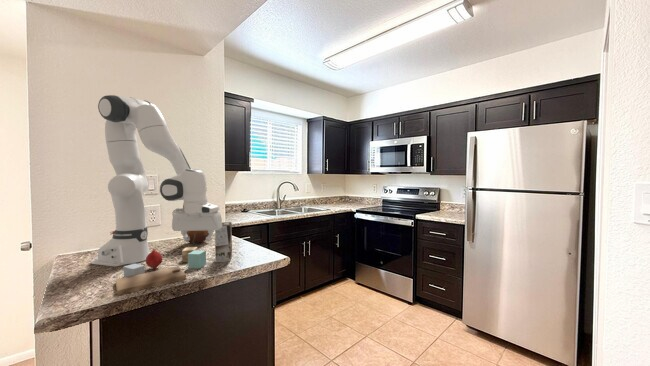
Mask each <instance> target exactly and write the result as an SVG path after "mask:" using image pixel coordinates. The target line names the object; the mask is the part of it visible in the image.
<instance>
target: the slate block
mask: <svg viewBox="0 0 650 366" xmlns="http://www.w3.org/2000/svg"><path fill="white" fill-rule="evenodd" d="M145 266H146V265H143V264H141V263H131V264H127V265H123V278H124V277H129V276H134V275H139V274H143V273H146V271H145Z"/></svg>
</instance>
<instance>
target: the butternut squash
mask: <svg viewBox="0 0 650 366" xmlns="http://www.w3.org/2000/svg"><path fill="white" fill-rule="evenodd" d="M182 208H184V202H183V204H182ZM186 233H187V235H188V236H190V241H186V242H188V243H189V244H193V245H200V244H202V243H204V242H205V241H206V237H207V236H208V235H209V233H208V231H187V232H186Z"/></svg>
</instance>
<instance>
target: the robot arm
mask: <svg viewBox="0 0 650 366" xmlns="http://www.w3.org/2000/svg"><path fill="white" fill-rule="evenodd" d="M97 108H98V112H99V114H100V116H101V117H102V118H103V119H104V120H105V123H104V135H105V143H106V144H105V145H106V148H107V149H106V150H107V153H108V159H109V162H110V164H111V165H112V168H113V170H114V173H115V174H116V175H115V176H112V178H111V179H110V180H109V181H108V183H107V191H108V192H109V194H110V196H111V201H112V204H113V208H114V215H115V230H113V231H110V232H109V233H110V235H112V238H111V239H110V240H108V241H107V242H106V243H105V244H103V245H102V246H100V247H99V248H98V251H97V257H95V258H94V259H91V260H90V264H92V265H98V266H107V267H113V268H114V267H115V268H116V267H120V266H126V265H131V264H134V263H135V264H138V263H140V262H144V261H146V257H147V256H148V254H149V253H151V251H150V248H149V243H148V233H149V232H148V227H147V210H146V207H145V205H144V199H143V195H144V194H145V193H146V192H147V190H148V189H149V181H148V179H147V174H146V172H145V169H144V166H143V163H142V160H141V155H140V149H139V143H138V138H137V133H138V136H139V139H140V141H141V143H142V144H143V146H144V147H145V148H146V149H147V150H148V151H151V152H152V153H155V154H157V155H159V156H161V157H163V158H165V159H166V160H168V161H169V162H170V163H171V166H172V167H173V170H174V171H175V173H176V175H175V176H172V177H169V178H166V179H164V180H163V181H162V182H161V184H160V185H159V193H160V195H161V197H162V198H163V199H165V200H166V201H169V202H174V201H175V202H176V201H182V200H183V203H184V208H183V207H182V208H175V209H173V211H172V214H171V215H172V221H171V228H172V230H173V231H174V232H180V234H181V235H182V238H183V239H184V242H187V241H190V236H188V235H187V233H186V232H187V231H208V233H209V235H208V236H207V237H206V240H205V241H206V242H211V241H212V236H213V234H214V233H215V230H219V229H221V227H222V223H223V219H222V218H223V217H222V214H221V213H220V212H219V211H220V206H219V205H216V204H213V203H210V202H208V198H207V189H208V187H207V181H206V175H205V173H204V172H203V171H202V170H200V169H193V168H191V167H190V164H189V162H188V161H187V158H186V156H185V154H184V152H183V151H182V149H181V147H180V146H179V145H178V144H177V142H176V141H175V139H174V137H173V135H172V134H171V131H170V129H169V127H168V123H167V122H166V119H165V117H164V116H163V114H162V112H161V110H160V109H159V108H158V107H157V106H156V104H154V103H152V102H150V101H148V100H142V99H139V98H135V97H131V96H130V97H129V96H128V97H127V96H121V95H120V96H118V95H115V94H108V95H104V96H102V97H101V98H100V99H99V101H98V105H97ZM136 131H137V133H136Z"/></svg>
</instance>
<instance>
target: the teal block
mask: <svg viewBox="0 0 650 366" xmlns="http://www.w3.org/2000/svg"><path fill="white" fill-rule="evenodd" d="M206 265H207V250H202V249H201V250H200V249H199V250H198V249H197V250H194V251H192V252H191V253H189V254H188V261H187V269H198V270H199V269H201V268H203V267H204V266H206Z"/></svg>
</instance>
